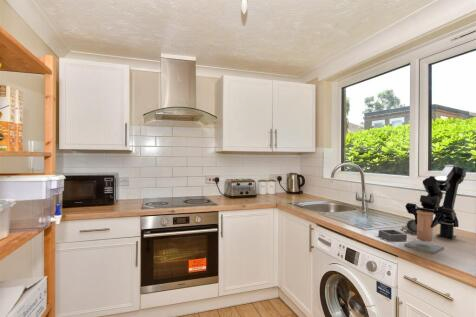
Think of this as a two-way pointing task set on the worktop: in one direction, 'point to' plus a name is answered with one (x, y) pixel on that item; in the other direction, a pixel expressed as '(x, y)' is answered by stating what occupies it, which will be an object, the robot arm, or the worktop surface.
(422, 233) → the peach rounded cylinder
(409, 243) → the mat
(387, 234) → the holder
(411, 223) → the ceramic mug
